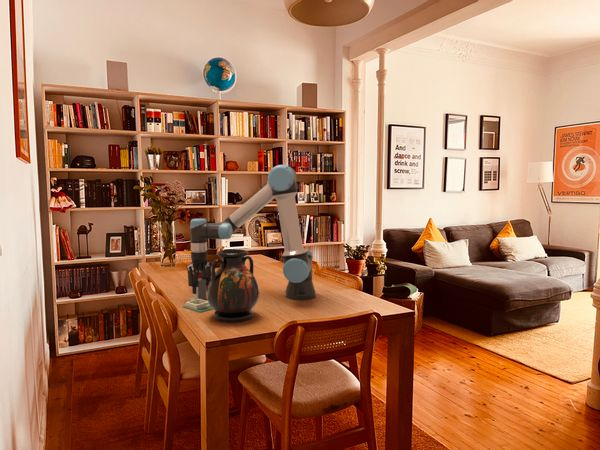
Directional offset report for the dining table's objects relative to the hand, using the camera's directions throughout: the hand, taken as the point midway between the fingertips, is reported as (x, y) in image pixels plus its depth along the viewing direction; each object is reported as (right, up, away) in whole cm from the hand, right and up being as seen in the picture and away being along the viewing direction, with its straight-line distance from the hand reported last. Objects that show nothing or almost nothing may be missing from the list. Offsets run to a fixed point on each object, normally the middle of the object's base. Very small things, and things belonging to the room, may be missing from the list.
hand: (200, 299), depth 214 cm
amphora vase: (+20, -3, -27) cm, 34 cm away
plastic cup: (-3, +1, +19) cm, 19 cm away
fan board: (+3, -2, -13) cm, 13 cm away
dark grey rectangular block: (0, 0, 0) cm, 0 cm away
